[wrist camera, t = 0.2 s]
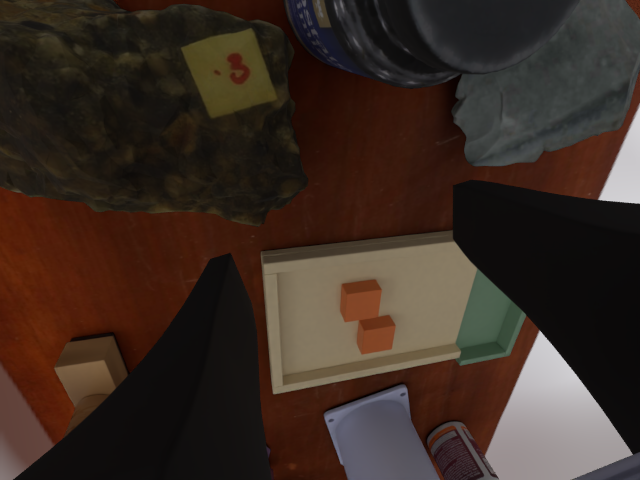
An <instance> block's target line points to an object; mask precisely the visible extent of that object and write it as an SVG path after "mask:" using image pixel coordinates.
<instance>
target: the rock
mask: <svg viewBox="0 0 640 480" xmlns="http://www.w3.org/2000/svg"><path fill="white" fill-rule="evenodd" d="M294 52H295V51H294V49H293V47H292V45H291V43H290V41H289V39H288V36H287V35H286V34H285V33H284V32H283V31H282V29H281V28H280V27H277V26H275V25H273V24H270V23H268V22H265V21H261V20H251V21H246V20H244V19H241V18H239V17H236V16H233V15H231V14H229V13H226V12H221V11H214V10H211V9H208V8H205V7H202V6H200V5H188V4H178V5H171V6H169V7H167V8H166V9H164V10H161V11H158V10H140V11H135V12H130V11H126V10H124V9H121V8H120V7H119V6H118V5H117V4H116V3H115V2H114V1H113V0H0V187H2V188H5V189H7V190H11V191H14V192H21V193H23V194H25V195H27V196H29V197H46V198H51V199H59V200H67V201H77V202H85V203H86V204H87V205H88V206H89V207H90V208H92V209H93V210H94V211H97V212H103V211H107V210H113V211H126V212H138V211H144V212H148V213H162V212H175V211H189V212H206V213H215V214H217V215H219V216H221V217H222V218H224V219H226V220H231V221H235V222H239V223H242V224H248V225H252V226H256V227H258V226H260V224H264V222H265V219H266V215H267V213H268V212H269V211H270V210H271V209H273V210H279V209H282V208H283V207H284V206H285V205H286V204H290V203H291V200H292V199H293V198H294V197H295V196H296V195H297V194H298V193H299V192H300V191H302V190H304V189H305V188H306V187H307V186H308V178H307V176H306V175H305V173H304V170H303V166H302V162H301V159H300V150H299V147H298V145H297V139H296V134H295V130H294V129H293V127H292V124H291V118H292V116H293V114H294V112H295V110H296V109H295V102H294V101H293V100H292V99H291V97H290V92H289V84H288V70H289V68H290V66H291V62H292V59H293V56H294Z"/></svg>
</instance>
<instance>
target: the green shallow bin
mask: <svg viewBox="0 0 640 480" xmlns="http://www.w3.org/2000/svg"><path fill="white" fill-rule="evenodd" d="M525 317H526V314H525V313H524V312H523V311H522V310H521V309H520V308H519V307H518V306H517V305H516V304H514V303H513V302H512V301H511V300H510V299H509V298H508V297H507V296H506V295H505V294H504V293H503V292H502V291H501V290H500V289H498V288H497V287H496V286H495V285H494V284H493V283H492V282H491V281H490V280H489V279H488V278H487V277H486V276H485V275H484V274H483V273H482V272H481V271H479V270H478V269H477V272H476V275H475V278H474V282H473V285H472V289H471V292H470V295H469V299H468V302H467V305H466V309H465V312H464V316H463V319H462V322H461V326H460V329H459V333H458V336H457V339H456V343H455V344H456V345H457V346H458V348H459V349H460V350H461V354H460V357H459V358H455V359H456V361H457V362H458V364H459V365H465V364H470V363H475V362H480V361H485V360H490V359H495V358H500V357H505V356H509V355H510V353H511V351H512V348H513V346H514V343H515V341H516V338H517V336H518V334H519V331H520V329H521V326H522V324H523V322H524V319H525Z"/></svg>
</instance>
